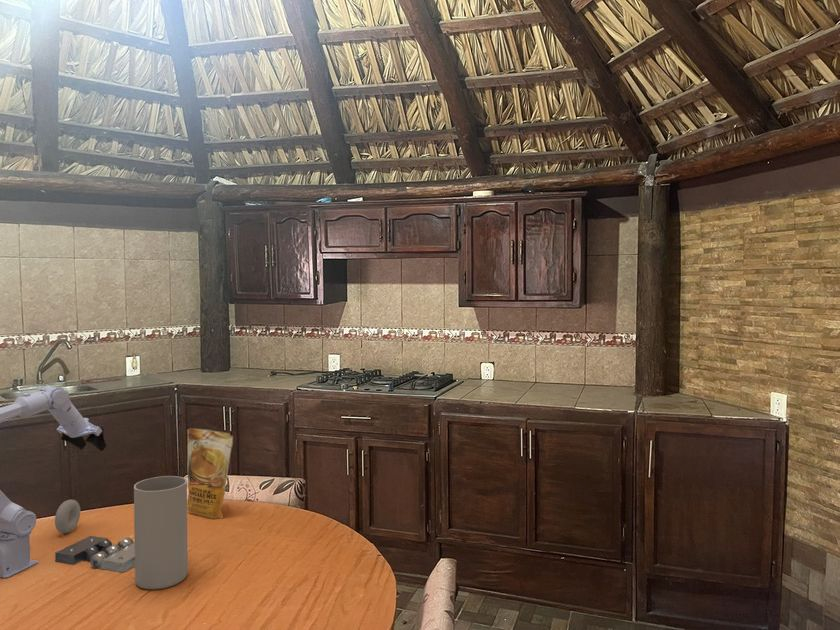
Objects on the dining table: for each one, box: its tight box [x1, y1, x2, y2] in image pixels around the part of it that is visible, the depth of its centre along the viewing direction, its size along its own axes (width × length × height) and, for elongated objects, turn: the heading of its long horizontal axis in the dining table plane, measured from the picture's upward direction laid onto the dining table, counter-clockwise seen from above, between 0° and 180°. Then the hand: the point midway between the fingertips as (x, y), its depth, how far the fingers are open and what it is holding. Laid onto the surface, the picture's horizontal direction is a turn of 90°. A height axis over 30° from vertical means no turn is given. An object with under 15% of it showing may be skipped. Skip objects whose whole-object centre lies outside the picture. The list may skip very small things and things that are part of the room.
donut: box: [54, 499, 81, 535], centre depth 185 cm, size 10×4×10 cm, turn 179°
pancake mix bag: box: [186, 427, 234, 520], centre depth 201 cm, size 7×19×28 cm, turn 62°
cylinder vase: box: [133, 475, 189, 591], centre depth 155 cm, size 12×12×25 cm
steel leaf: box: [89, 537, 135, 574], centre depth 166 cm, size 13×11×4 cm
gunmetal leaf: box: [54, 535, 113, 565], centre depth 169 cm, size 12×10×4 cm
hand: (93, 447), depth 185 cm, fingers open, 7 cm apart
